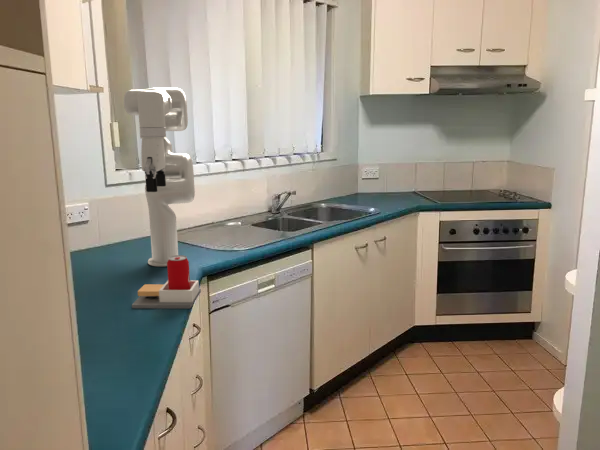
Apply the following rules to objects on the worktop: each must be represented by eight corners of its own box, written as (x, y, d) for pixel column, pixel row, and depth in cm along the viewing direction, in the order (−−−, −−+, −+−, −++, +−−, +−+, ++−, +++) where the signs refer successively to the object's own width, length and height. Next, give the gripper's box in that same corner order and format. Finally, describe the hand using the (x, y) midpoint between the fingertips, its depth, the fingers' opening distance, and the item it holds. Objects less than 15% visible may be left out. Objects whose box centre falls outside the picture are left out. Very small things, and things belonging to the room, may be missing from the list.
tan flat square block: (145, 292, 154) (144, 284, 153) (166, 292, 154) (165, 284, 153) (138, 299, 148) (137, 291, 147) (160, 299, 148) (159, 291, 147)
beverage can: (192, 292, 154) (190, 254, 151) (188, 299, 148) (186, 260, 145) (171, 293, 154) (169, 254, 151) (166, 300, 148) (164, 260, 145)
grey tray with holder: (147, 291, 158) (146, 277, 157) (200, 291, 158) (200, 278, 157) (132, 308, 144) (130, 293, 143) (190, 308, 144) (189, 293, 143)
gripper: (148, 131, 162) (152, 184, 166) (131, 135, 145) (135, 194, 149) (172, 131, 162) (175, 184, 166) (157, 135, 145) (161, 194, 149)
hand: (156, 188), depth 158 cm, fingers open, 9 cm apart
